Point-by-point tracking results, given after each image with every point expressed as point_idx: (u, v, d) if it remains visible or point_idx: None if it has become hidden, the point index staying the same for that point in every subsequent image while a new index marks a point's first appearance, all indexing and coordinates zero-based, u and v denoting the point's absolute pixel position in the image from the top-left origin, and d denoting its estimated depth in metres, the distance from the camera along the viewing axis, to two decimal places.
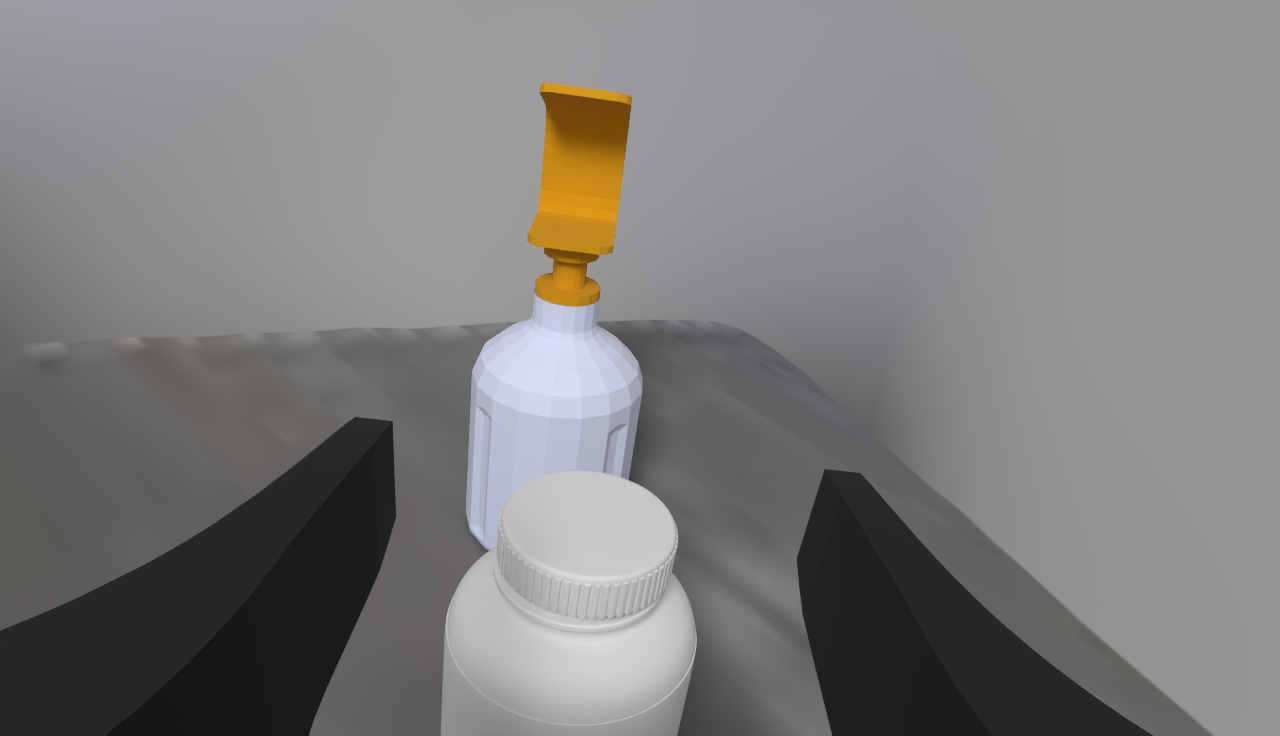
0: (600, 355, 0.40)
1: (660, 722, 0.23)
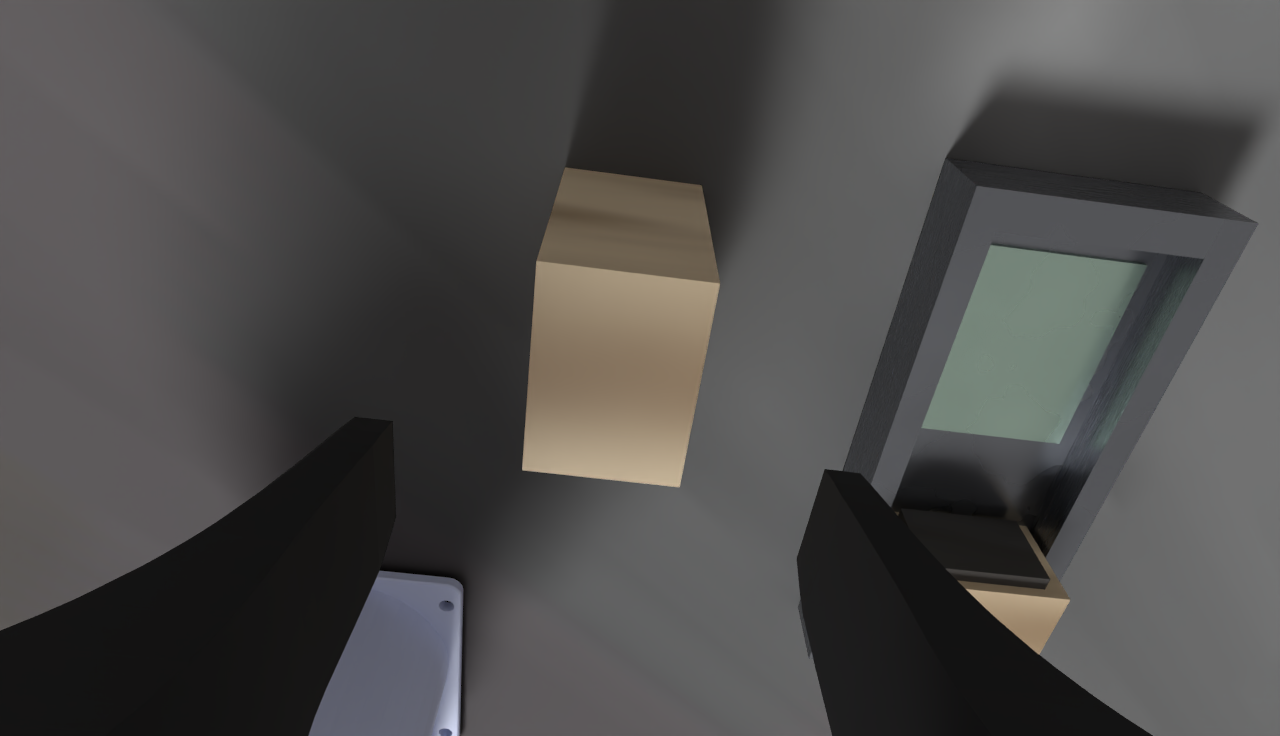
0: None
1: None
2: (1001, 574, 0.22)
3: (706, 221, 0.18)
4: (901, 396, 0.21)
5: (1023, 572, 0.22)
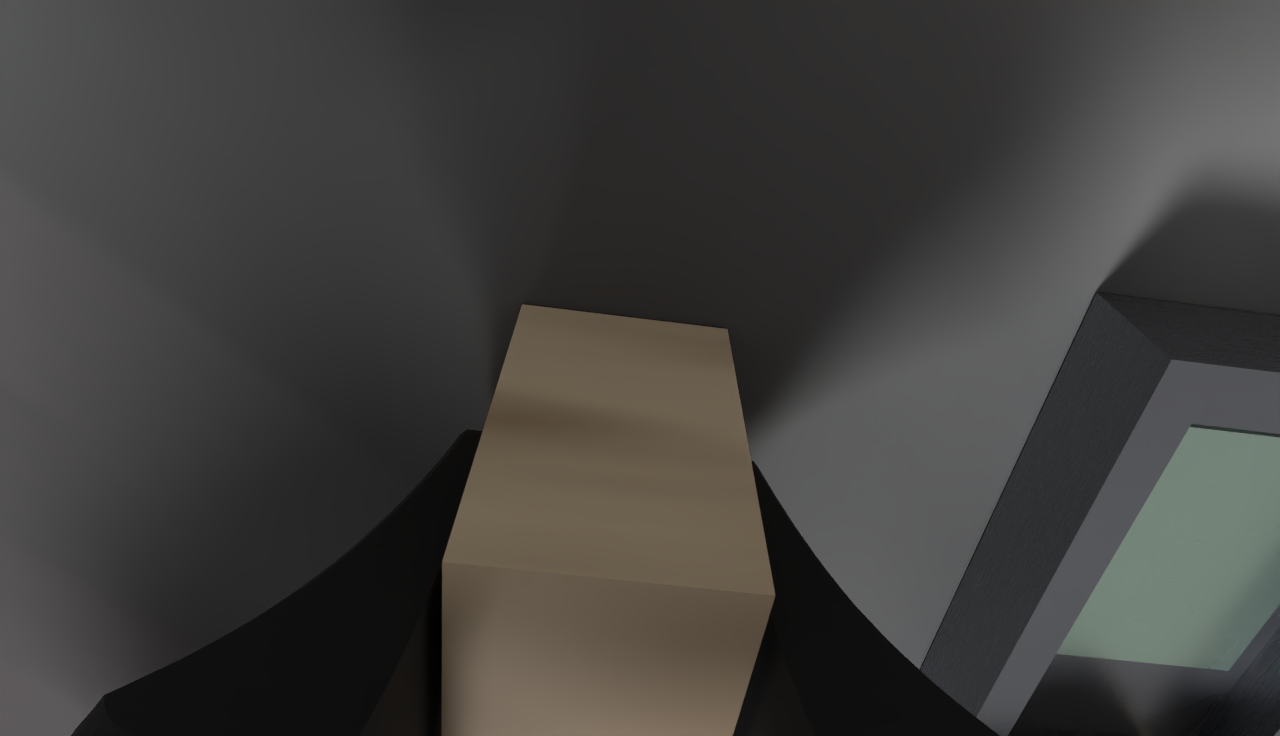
0: None
1: None
2: None
3: (739, 418, 0.11)
4: (1020, 633, 0.14)
5: None
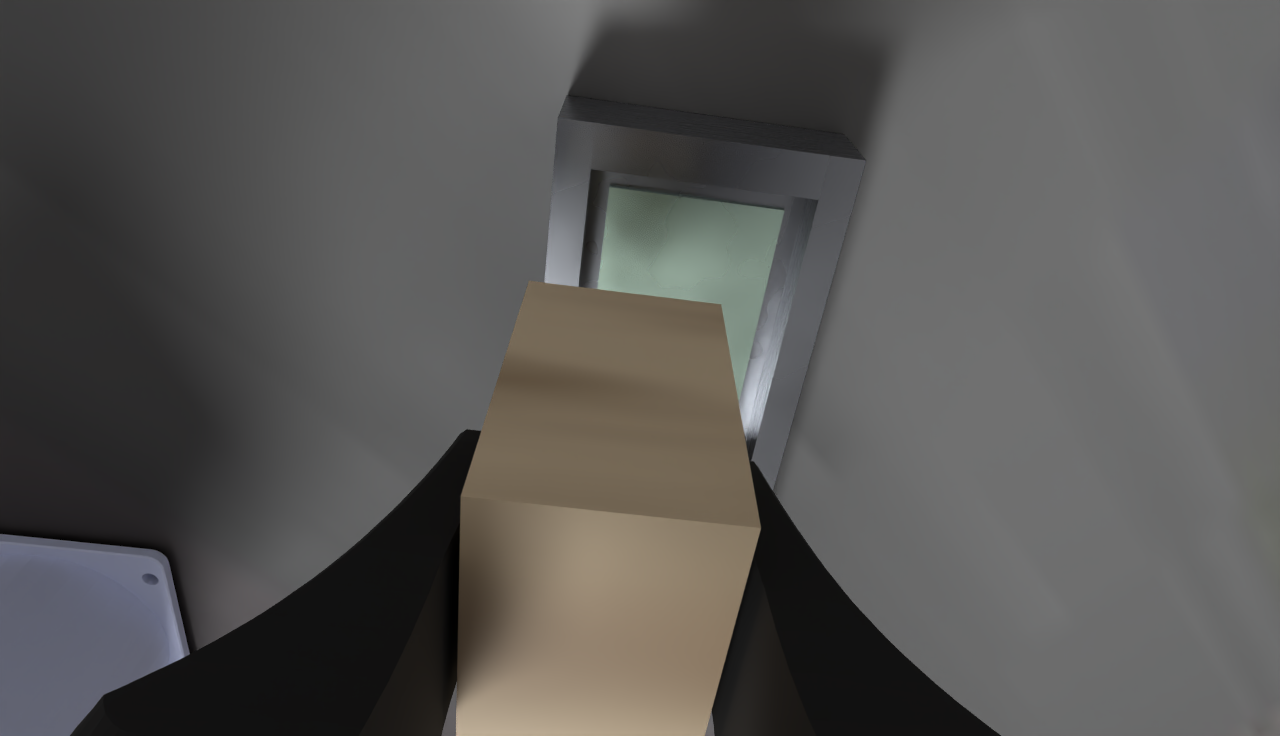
0: None
1: None
2: None
3: (731, 381, 0.12)
4: None
5: None
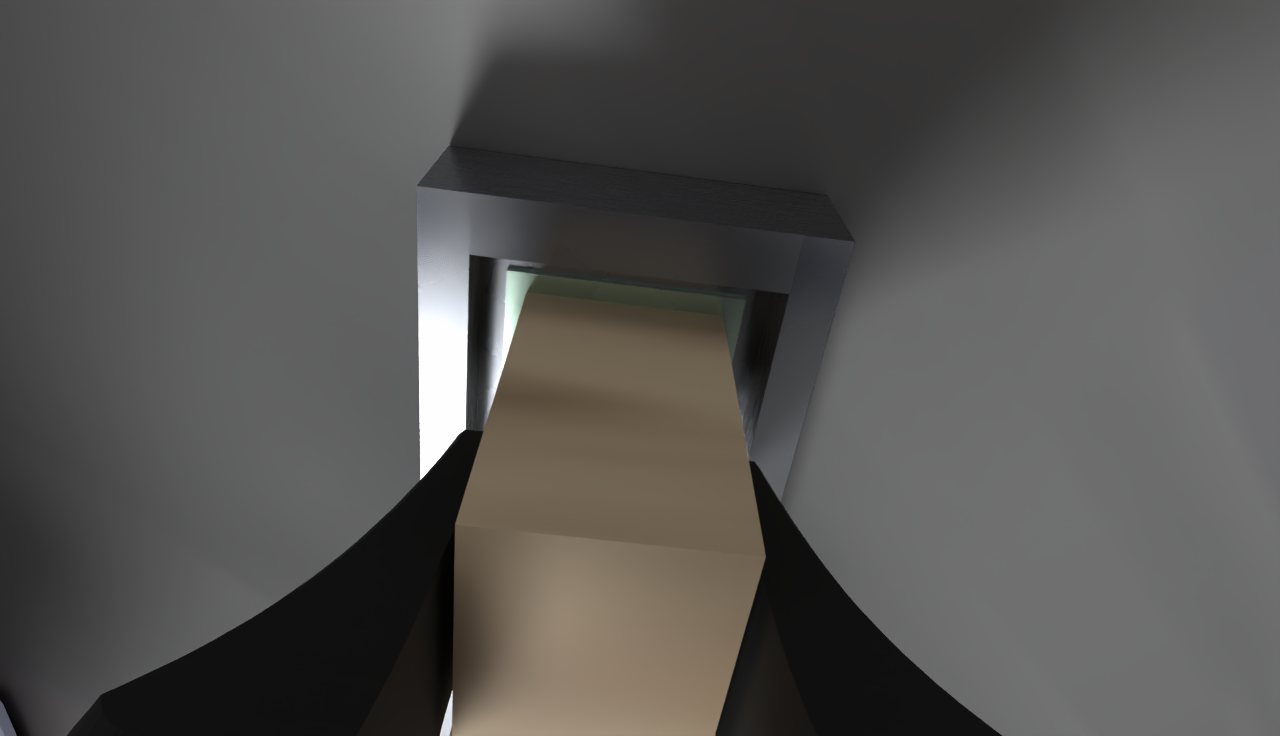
0: None
1: None
2: None
3: (734, 398, 0.12)
4: None
5: None
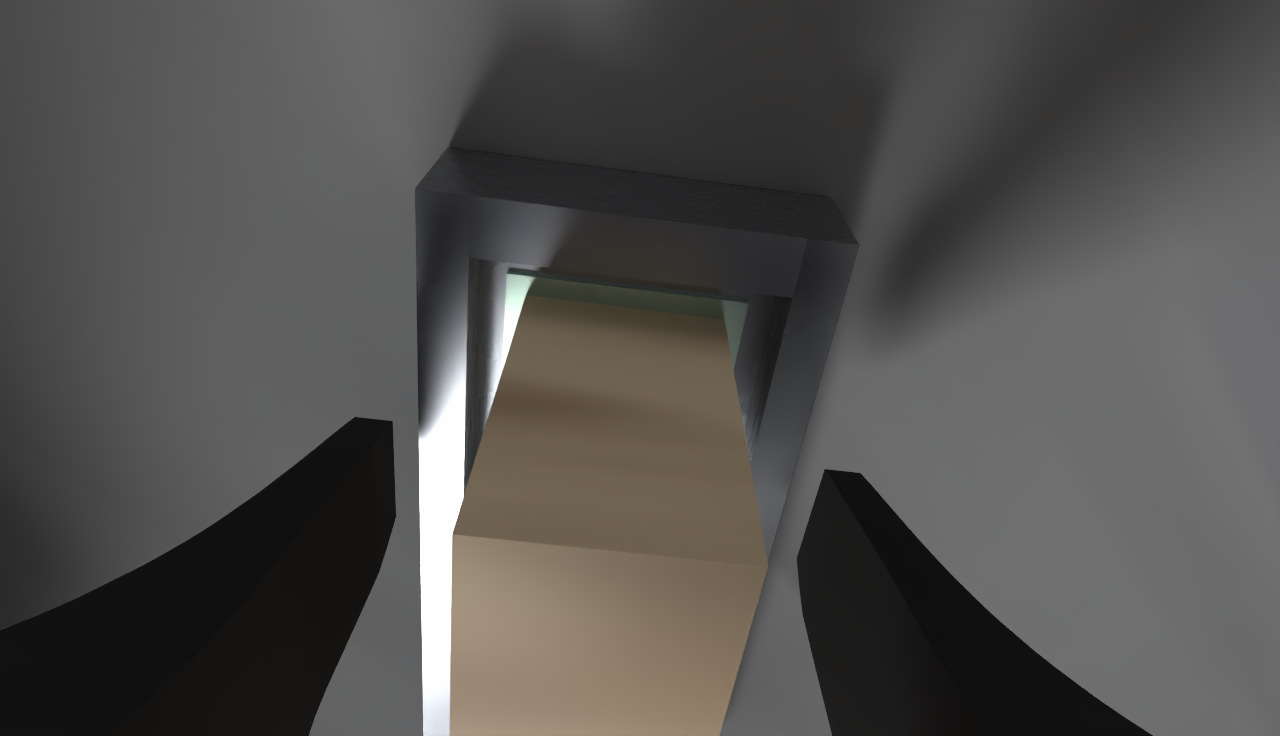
0: None
1: None
2: None
3: (736, 403, 0.12)
4: (420, 487, 0.15)
5: None
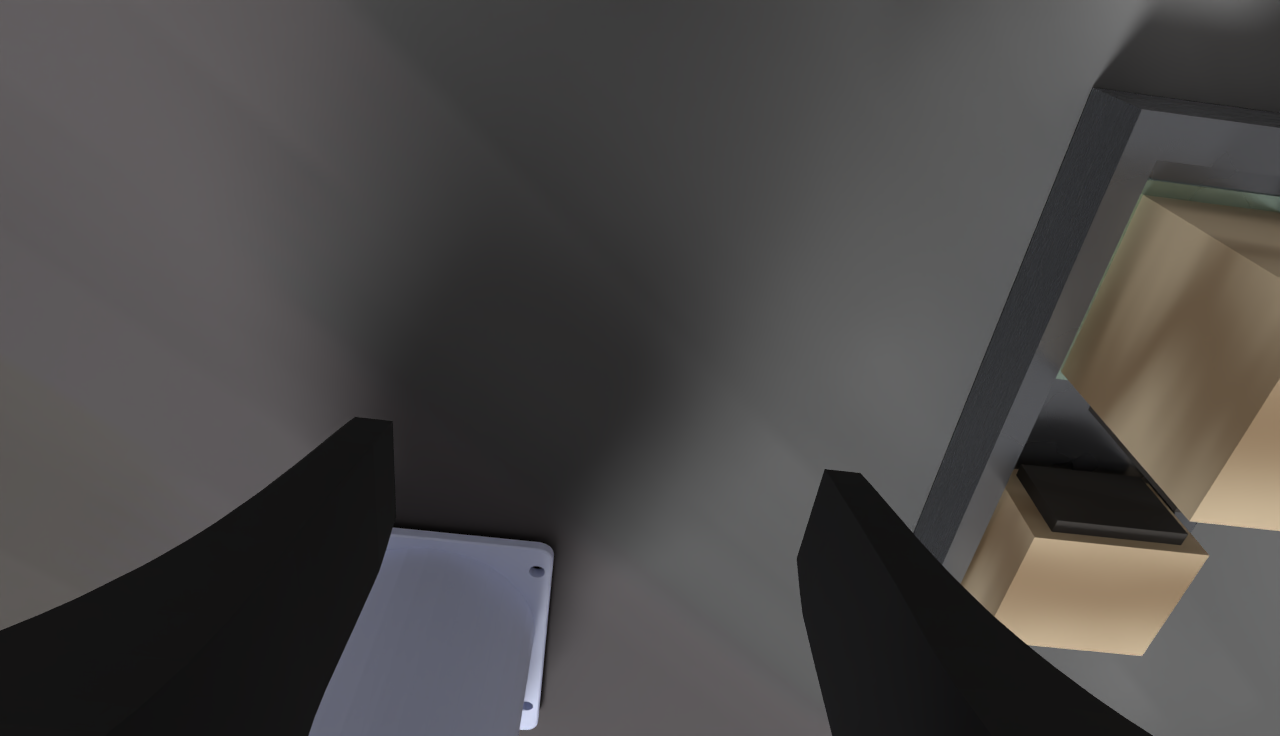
0: None
1: None
2: (1137, 528, 0.21)
3: None
4: (1039, 340, 0.20)
5: (1158, 527, 0.21)
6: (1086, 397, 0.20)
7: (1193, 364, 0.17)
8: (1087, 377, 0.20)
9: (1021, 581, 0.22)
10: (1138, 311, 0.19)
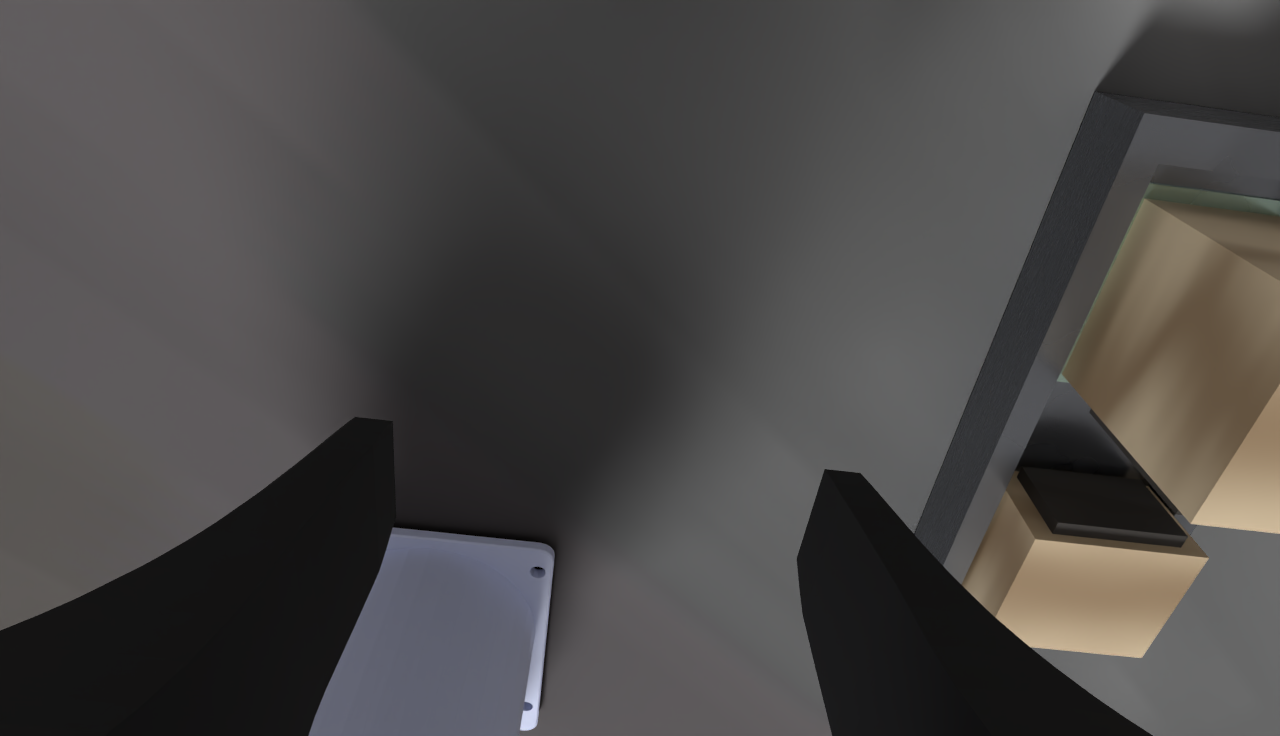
0: None
1: None
2: (1137, 531, 0.21)
3: None
4: (1040, 343, 0.20)
5: (1158, 529, 0.21)
6: (1087, 400, 0.20)
7: (1194, 367, 0.17)
8: (1088, 380, 0.21)
9: (1021, 583, 0.22)
10: (1140, 314, 0.19)
